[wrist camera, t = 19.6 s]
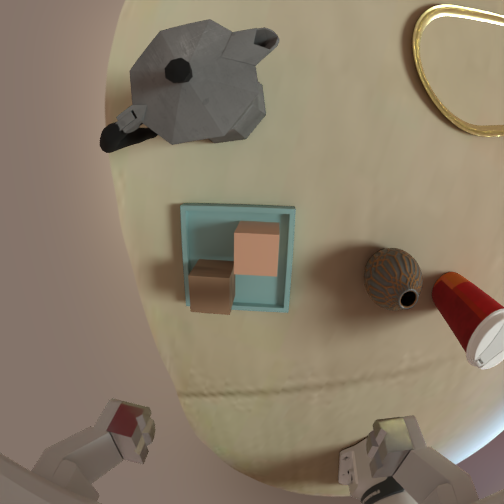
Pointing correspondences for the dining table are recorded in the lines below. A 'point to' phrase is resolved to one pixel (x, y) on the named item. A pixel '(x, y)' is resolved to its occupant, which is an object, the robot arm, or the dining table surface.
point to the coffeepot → (194, 87)
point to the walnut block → (212, 286)
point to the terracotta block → (256, 248)
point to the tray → (222, 248)
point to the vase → (393, 279)
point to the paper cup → (471, 319)
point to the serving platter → (418, 29)
